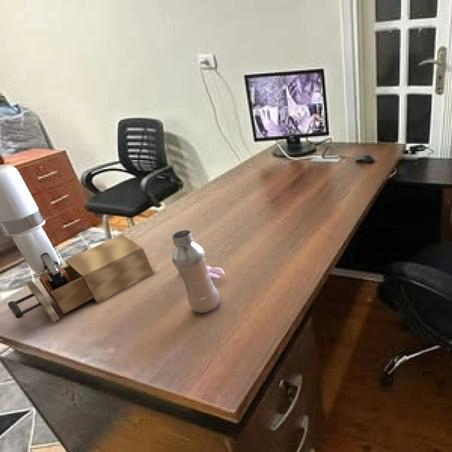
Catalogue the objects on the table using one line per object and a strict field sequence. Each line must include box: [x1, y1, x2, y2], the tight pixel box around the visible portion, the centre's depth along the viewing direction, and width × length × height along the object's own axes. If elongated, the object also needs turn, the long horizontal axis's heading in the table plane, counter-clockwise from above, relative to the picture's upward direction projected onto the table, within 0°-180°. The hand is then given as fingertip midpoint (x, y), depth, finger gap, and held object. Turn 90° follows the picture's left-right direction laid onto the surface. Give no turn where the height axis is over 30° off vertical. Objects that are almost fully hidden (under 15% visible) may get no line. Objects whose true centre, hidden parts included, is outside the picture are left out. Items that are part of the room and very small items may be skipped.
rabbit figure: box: [178, 265, 225, 279], centre depth 91 cm, size 6×6×15 cm
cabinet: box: [64, 234, 154, 304], centre depth 93 cm, size 15×13×9 cm
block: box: [38, 265, 71, 293], centre depth 84 cm, size 4×4×4 cm
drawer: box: [7, 265, 94, 322], centre depth 86 cm, size 18×11×7 cm, turn 141°
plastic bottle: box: [171, 229, 220, 314], centre depth 78 cm, size 6×7×20 cm
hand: (59, 286), depth 85 cm, fingers closed on block, 4 cm apart
